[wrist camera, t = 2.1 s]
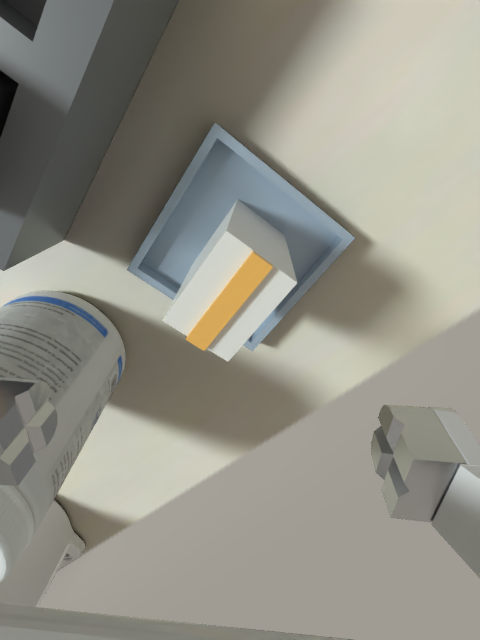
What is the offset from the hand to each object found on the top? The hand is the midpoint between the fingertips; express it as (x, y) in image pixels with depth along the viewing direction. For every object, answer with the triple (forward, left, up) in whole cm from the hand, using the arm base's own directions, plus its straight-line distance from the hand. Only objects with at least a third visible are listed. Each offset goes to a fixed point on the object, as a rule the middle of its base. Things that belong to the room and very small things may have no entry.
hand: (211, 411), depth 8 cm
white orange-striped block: (0, 0, -15) cm, 15 cm away
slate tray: (0, 0, -15) cm, 15 cm away
